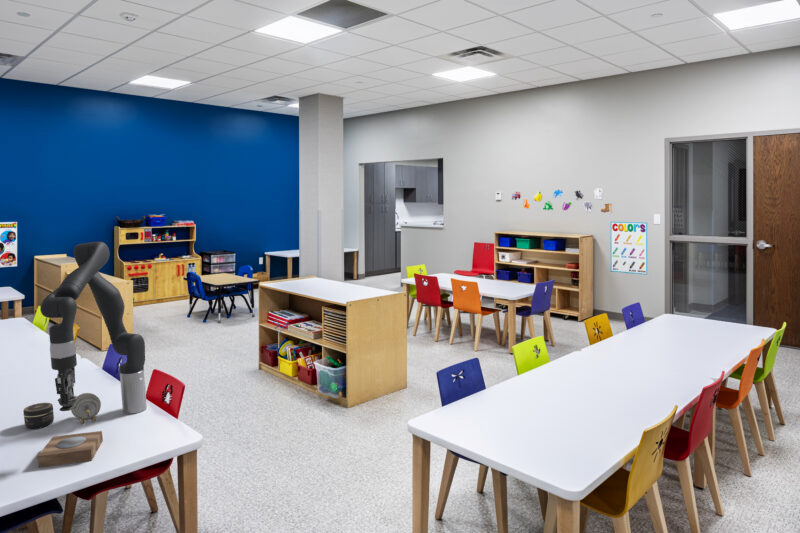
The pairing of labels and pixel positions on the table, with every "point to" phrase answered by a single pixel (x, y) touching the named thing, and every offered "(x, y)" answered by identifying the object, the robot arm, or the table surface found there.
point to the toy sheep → (86, 407)
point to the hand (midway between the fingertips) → (67, 400)
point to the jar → (38, 415)
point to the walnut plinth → (70, 449)
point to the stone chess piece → (71, 400)
